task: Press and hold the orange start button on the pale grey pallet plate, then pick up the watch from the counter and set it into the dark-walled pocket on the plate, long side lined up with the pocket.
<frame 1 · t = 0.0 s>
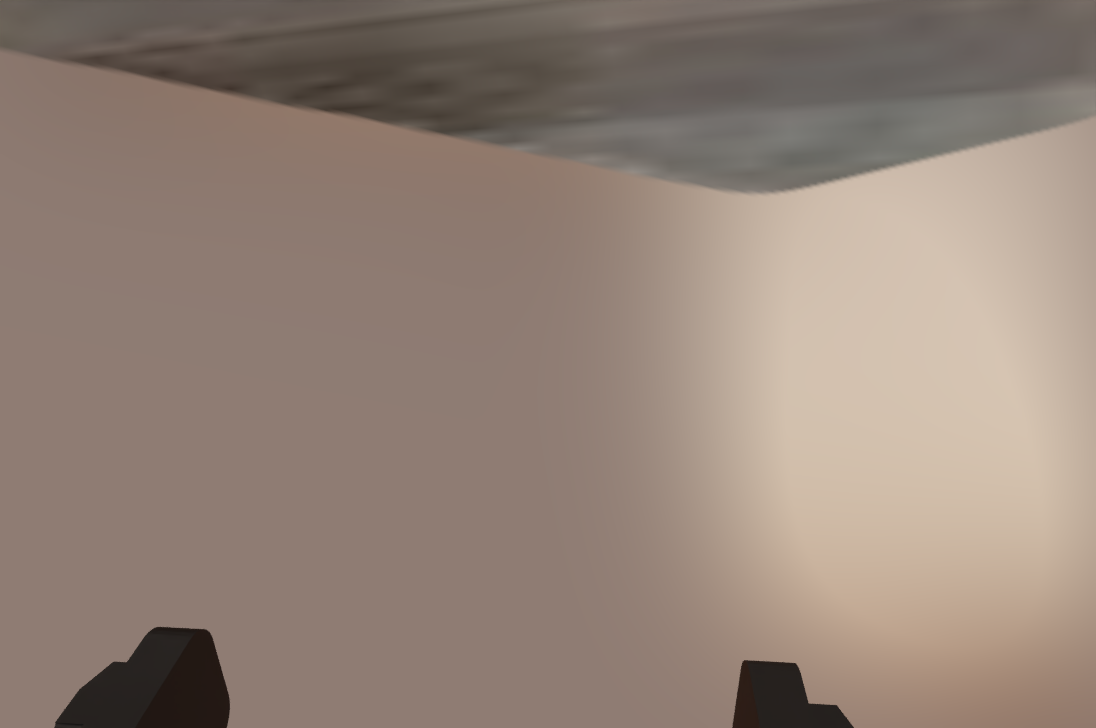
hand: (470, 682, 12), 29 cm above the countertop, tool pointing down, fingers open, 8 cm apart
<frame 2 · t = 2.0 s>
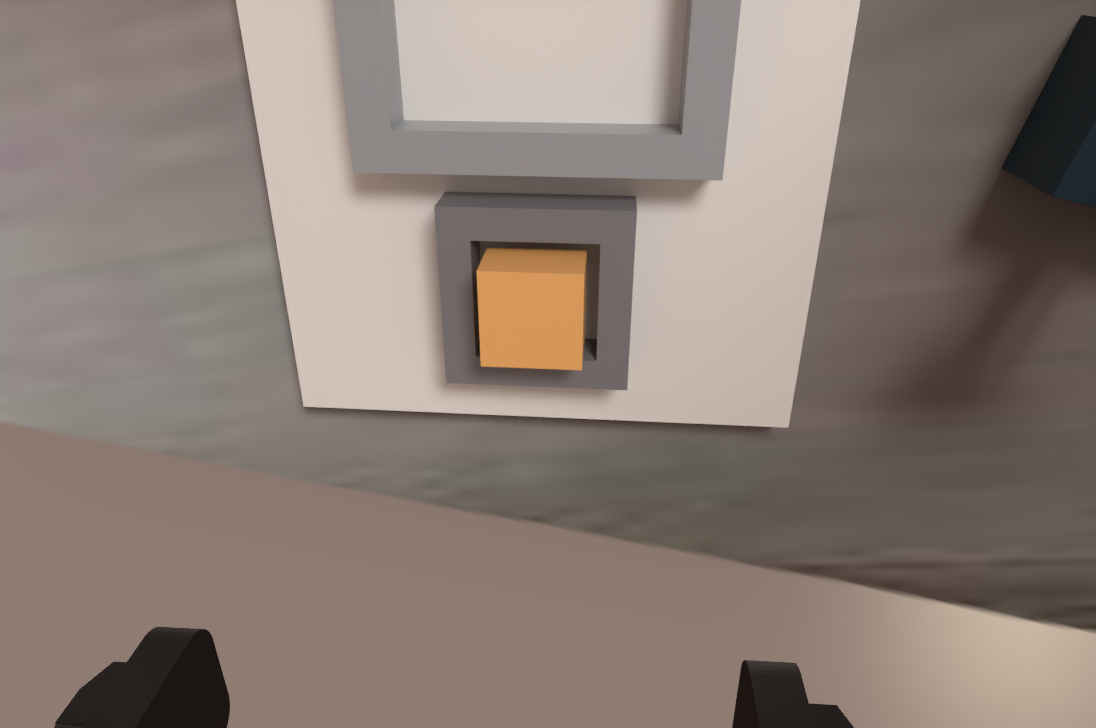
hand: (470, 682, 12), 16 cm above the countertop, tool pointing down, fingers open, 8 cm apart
pallet: (542, 44, 23), on the countertop
start button: (534, 308, 23), point 3 cm above the countertop, slide at 0.0 cm
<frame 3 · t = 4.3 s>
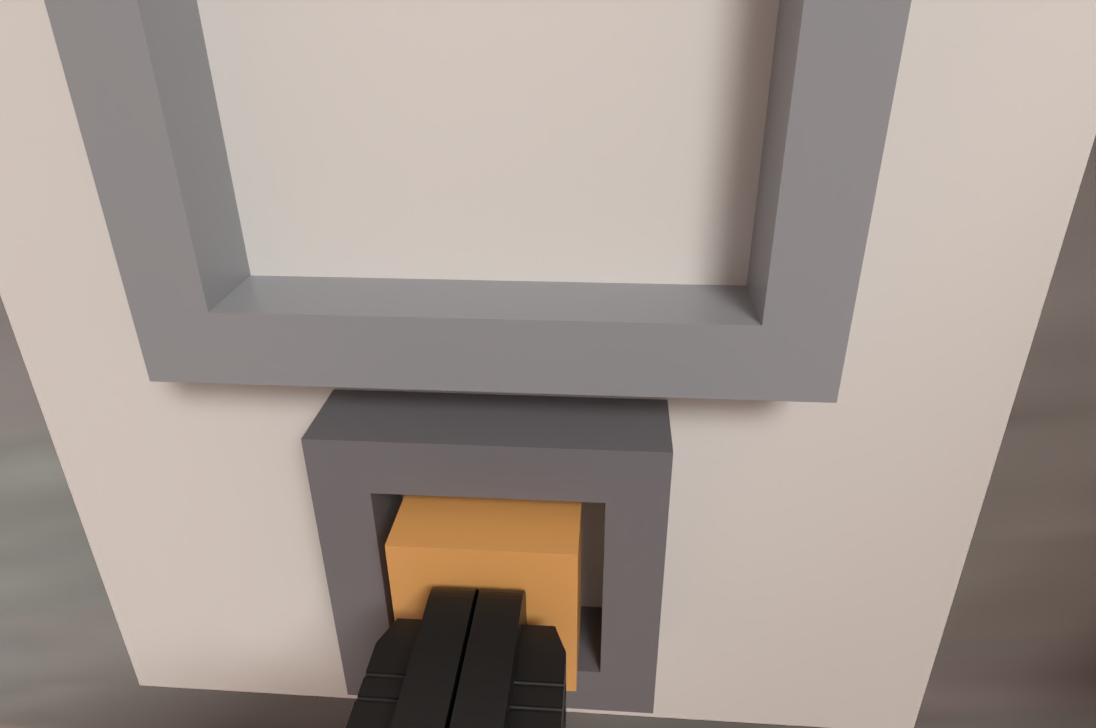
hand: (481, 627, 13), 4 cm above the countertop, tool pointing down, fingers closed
pallet: (498, 137, 13), on the countertop
start button: (493, 578, 14), point 3 cm above the countertop, slide at 0.6 cm, touching gripper
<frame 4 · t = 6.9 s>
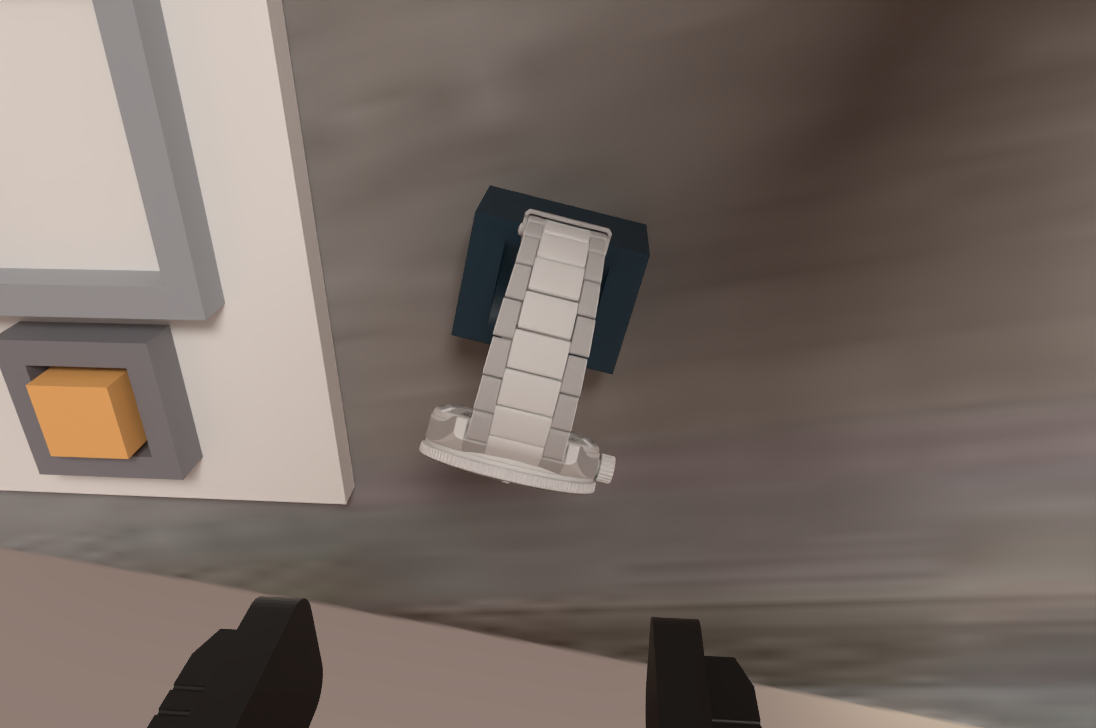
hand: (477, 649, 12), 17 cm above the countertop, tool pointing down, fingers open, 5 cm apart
pallet: (82, 205, 28), on the countertop
start button: (94, 408, 29), point 3 cm above the countertop, slide at 0.7 cm
watch: (554, 263, 28), on the countertop
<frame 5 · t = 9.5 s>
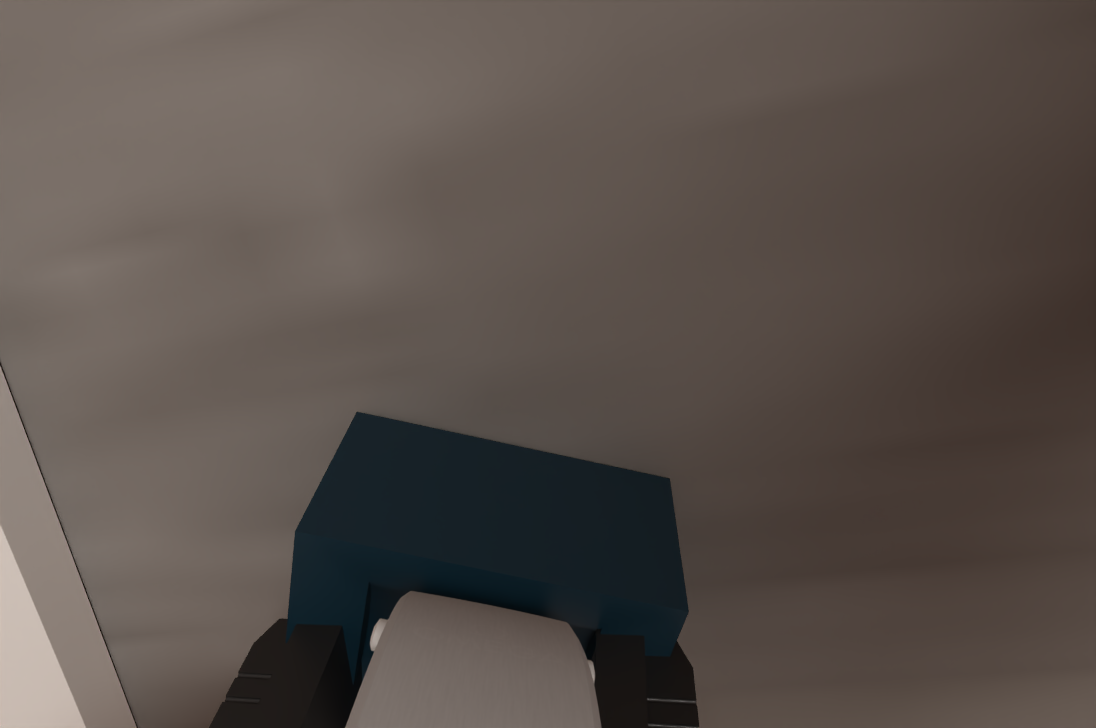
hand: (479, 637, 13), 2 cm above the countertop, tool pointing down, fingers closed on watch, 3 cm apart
watch: (494, 537, 15), on the countertop, touching gripper
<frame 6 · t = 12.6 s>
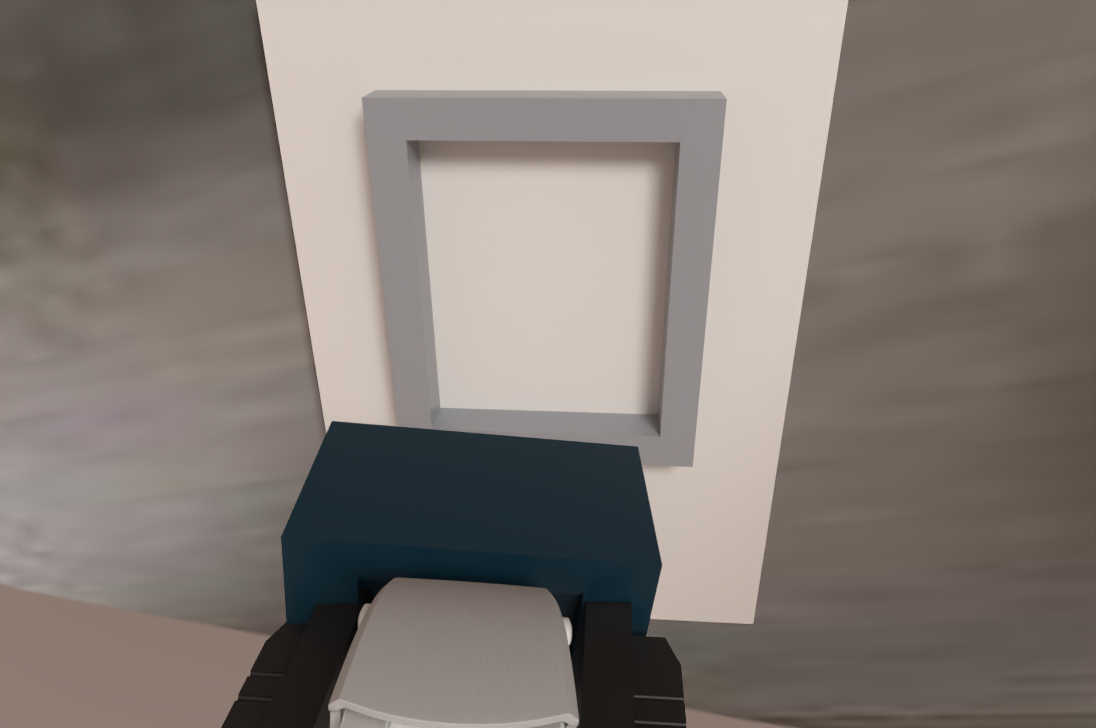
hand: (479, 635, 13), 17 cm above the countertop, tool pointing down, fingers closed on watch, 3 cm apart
pallet: (550, 347, 29), on the countertop
watch: (481, 525, 15), point 14 cm above the countertop, touching gripper
when the fingers open (5 cm above the countertop, at t = 15.1 s): watch stays where it is, resting on pallet.
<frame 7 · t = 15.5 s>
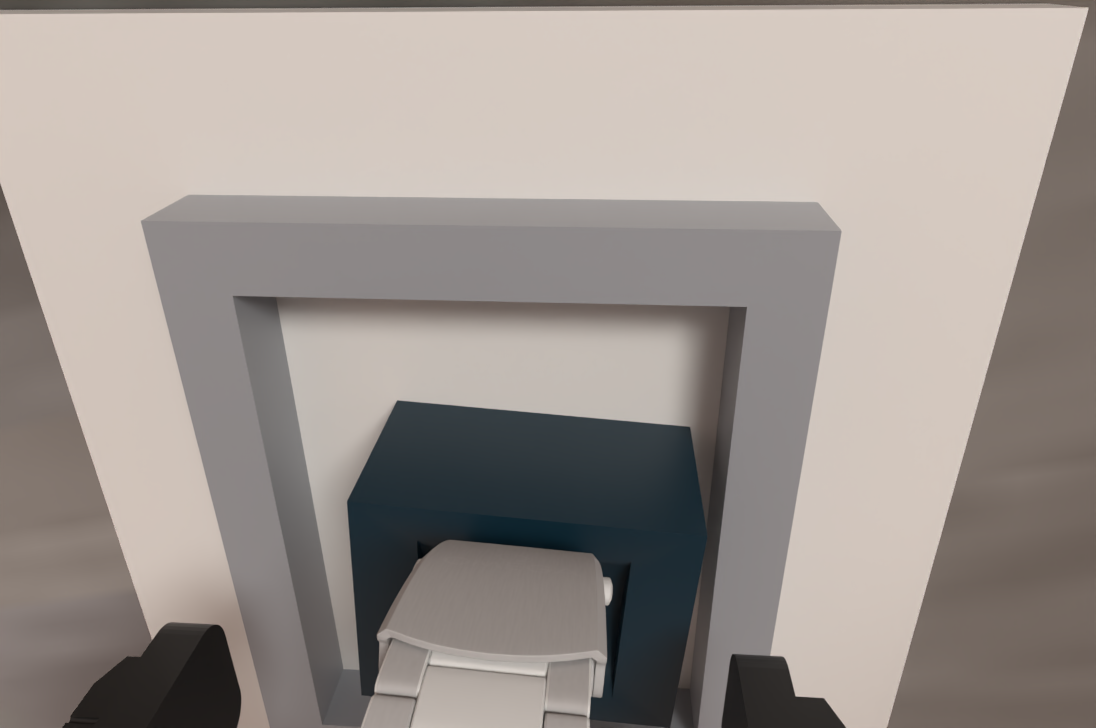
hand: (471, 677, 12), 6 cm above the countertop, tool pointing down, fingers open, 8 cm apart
pallet: (517, 575, 18), on the countertop
watch: (539, 503, 16), point 1 cm above the countertop, touching pallet
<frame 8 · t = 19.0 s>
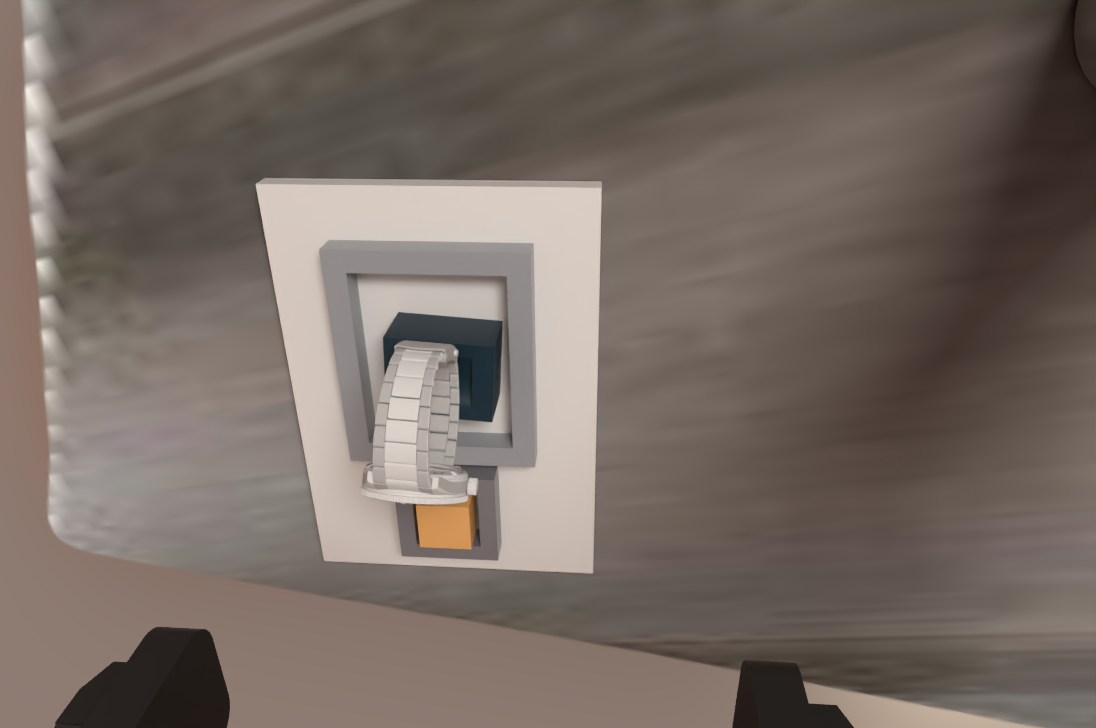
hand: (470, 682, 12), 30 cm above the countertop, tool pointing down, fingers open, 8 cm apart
pallet: (447, 390, 44), on the countertop
start button: (447, 516, 45), point 3 cm above the countertop, slide at 0.7 cm
watch: (452, 353, 42), point 1 cm above the countertop, touching pallet
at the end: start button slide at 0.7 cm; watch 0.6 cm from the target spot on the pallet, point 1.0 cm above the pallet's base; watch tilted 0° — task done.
